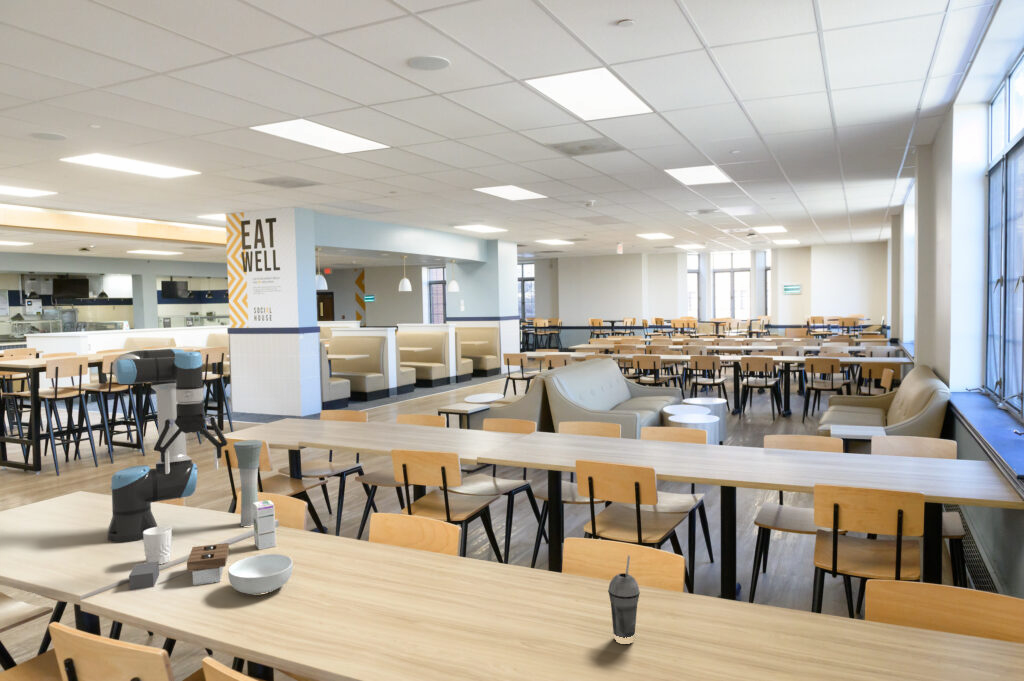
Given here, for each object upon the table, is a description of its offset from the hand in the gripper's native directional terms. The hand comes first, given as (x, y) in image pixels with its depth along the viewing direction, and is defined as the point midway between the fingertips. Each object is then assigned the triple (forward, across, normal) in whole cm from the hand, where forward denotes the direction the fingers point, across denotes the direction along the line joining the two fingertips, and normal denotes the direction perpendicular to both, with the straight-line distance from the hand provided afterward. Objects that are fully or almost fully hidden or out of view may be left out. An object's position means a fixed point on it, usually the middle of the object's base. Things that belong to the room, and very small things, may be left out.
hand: (192, 471), depth 204 cm
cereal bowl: (+29, +20, -28) cm, 45 cm away
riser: (+29, -12, -11) cm, 33 cm away
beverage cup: (+29, +101, -88) cm, 137 cm away
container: (+29, +14, +34) cm, 47 cm away
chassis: (+29, +5, -11) cm, 31 cm away
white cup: (+29, -11, +5) cm, 31 cm away
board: (+25, +5, -11) cm, 27 cm away
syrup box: (+29, +20, +8) cm, 36 cm away
